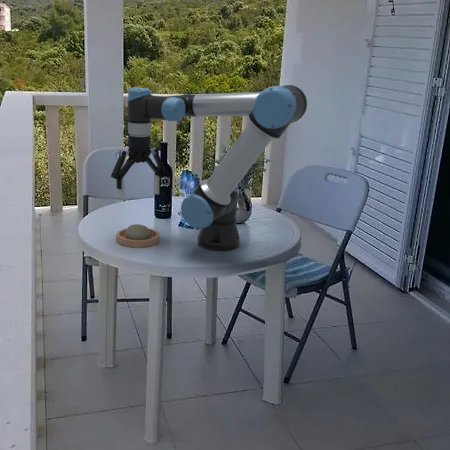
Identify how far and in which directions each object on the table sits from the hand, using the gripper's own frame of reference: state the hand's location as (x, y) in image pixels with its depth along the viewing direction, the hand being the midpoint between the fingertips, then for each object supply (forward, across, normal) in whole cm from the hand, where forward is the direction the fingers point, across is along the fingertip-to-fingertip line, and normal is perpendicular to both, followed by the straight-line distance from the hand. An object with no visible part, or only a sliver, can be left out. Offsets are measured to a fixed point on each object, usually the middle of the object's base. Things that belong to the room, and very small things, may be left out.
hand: (139, 196), depth 199 cm
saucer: (+16, 0, 0) cm, 16 cm away
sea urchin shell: (+16, 0, -1) cm, 16 cm away
